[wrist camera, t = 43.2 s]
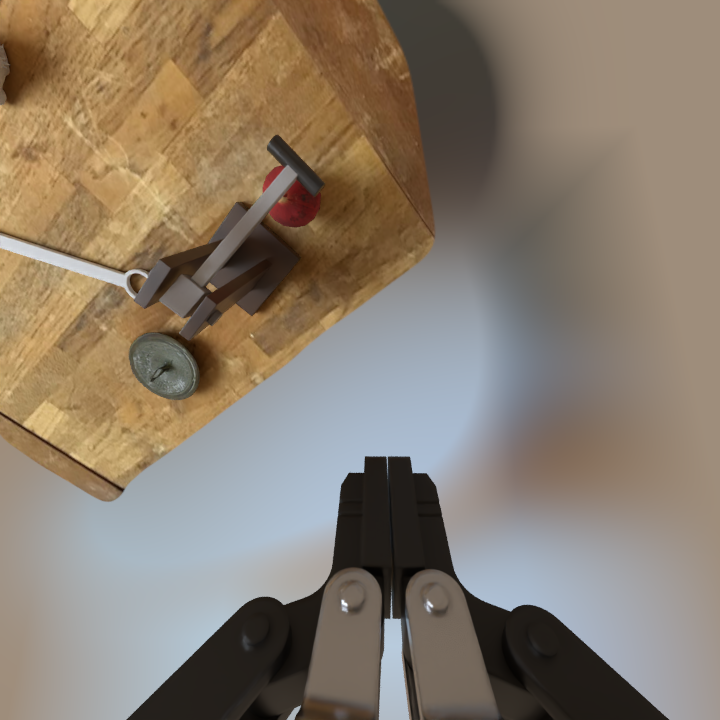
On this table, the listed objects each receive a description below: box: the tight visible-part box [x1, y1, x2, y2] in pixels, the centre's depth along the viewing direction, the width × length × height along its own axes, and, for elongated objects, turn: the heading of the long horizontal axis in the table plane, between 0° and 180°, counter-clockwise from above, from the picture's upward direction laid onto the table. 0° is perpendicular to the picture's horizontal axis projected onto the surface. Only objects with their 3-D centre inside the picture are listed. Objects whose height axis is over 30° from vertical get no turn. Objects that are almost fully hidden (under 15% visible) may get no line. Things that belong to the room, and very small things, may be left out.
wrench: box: [0, 233, 149, 299], centre depth 41 cm, size 25×1×5 cm
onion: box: [263, 166, 321, 227], centre depth 33 cm, size 6×6×8 cm
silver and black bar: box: [159, 135, 325, 318], centre depth 27 cm, size 16×5×2 cm, turn 136°
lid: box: [129, 333, 200, 400], centre depth 46 cm, size 11×10×5 cm
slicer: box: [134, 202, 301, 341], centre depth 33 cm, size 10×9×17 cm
